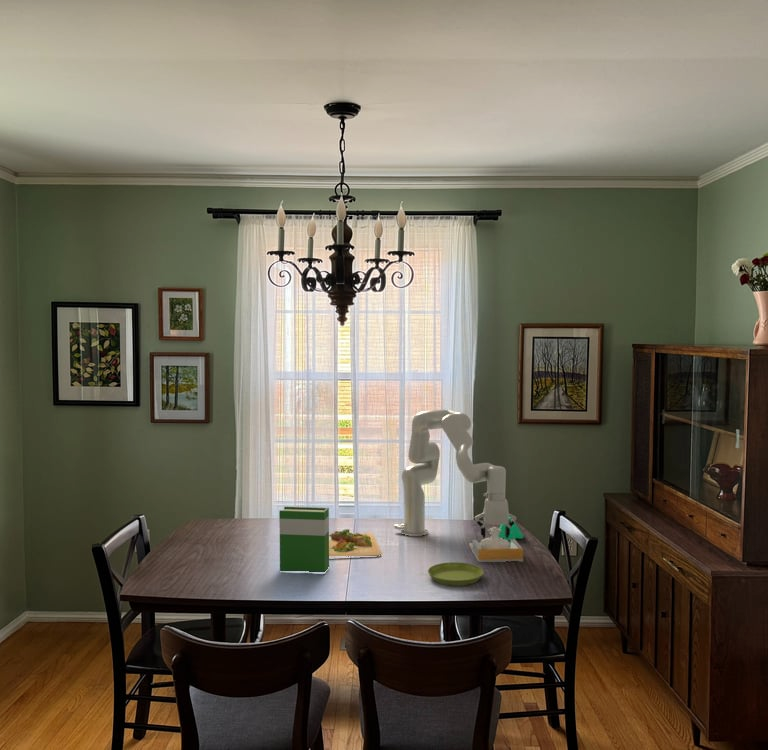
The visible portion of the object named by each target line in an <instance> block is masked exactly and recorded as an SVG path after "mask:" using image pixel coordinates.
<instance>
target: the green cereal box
mask: <svg viewBox="0 0 768 750" xmlns="http://www.w3.org/2000/svg"><path fill="white" fill-rule="evenodd" d="M278 512H279V513H278V515H279V521H278V522H279V572H280V571H309V572H325V571H326V570H327V569H328V567H329V568H330V560H329V534H330V508H329V507H317V506H316V507H315V506H311V507H310V506H284V507H283V509H282V510H279V511H278Z"/></svg>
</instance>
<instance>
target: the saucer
mask: <svg viewBox="0 0 768 750" xmlns="http://www.w3.org/2000/svg"><path fill="white" fill-rule="evenodd" d="M427 573H428V574H429V576H430V577H431V578H432V580H434V581H435V582H436V583H438V584H441V585H446V586H451V587H453V586H455V587H462V586H469V585H473V584H475V583H476V582H478V581H479V580H480V579H481V578H482V577H483V575H484V569H483V568H482V567H480V566H478V565H475V564H472V563H468V562H460V561H459V562H453V561H452V562H442V563H438V564H434V565H431V566H430V567H428V570H427Z"/></svg>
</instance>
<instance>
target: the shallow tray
mask: <svg viewBox="0 0 768 750" xmlns="http://www.w3.org/2000/svg"><path fill="white" fill-rule="evenodd" d="M468 546H469V548H470V549H471V551H472V553H473V555H474V556H475V558H476V560H477V562H478V563H504V562H505V563H506V561H509V562H508V563H510V561H519V562H524V549H523V547H522V546H521V545H520V544H519V542H518V541H517V540H516V538H515V539H511V540H510V541H509V549H482V547H481V543H480V542H479V541H478V540H477V539H472V542H469V543H468Z"/></svg>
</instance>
